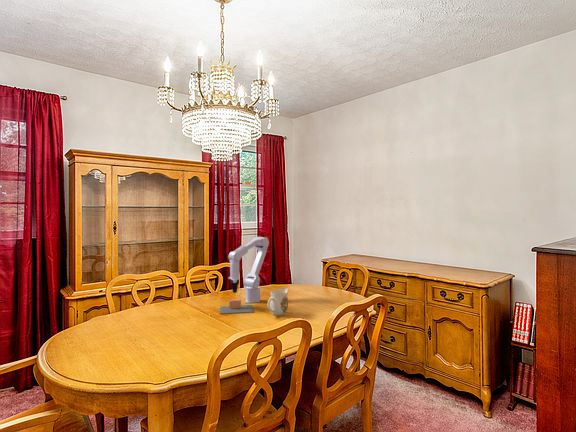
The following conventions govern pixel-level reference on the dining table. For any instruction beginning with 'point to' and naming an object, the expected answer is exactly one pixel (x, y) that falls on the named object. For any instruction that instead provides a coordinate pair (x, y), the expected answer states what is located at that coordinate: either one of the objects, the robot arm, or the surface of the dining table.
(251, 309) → the mat
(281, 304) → the pitcher
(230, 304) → the tile
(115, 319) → the dining table surface
